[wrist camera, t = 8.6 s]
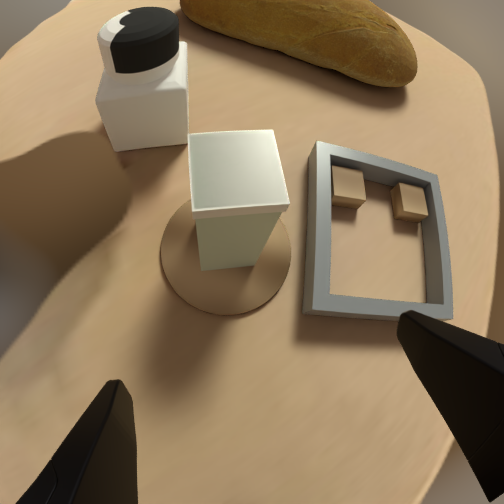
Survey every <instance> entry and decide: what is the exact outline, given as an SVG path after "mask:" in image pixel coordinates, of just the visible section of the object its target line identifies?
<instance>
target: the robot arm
mask: <svg viewBox="0 0 504 504" xmlns="http://www.w3.org/2000/svg"><path fill="white" fill-rule="evenodd" d="M397 337H398V340H399V342H400V344H401V346H402V347H403V349H404V351H405V353H406V355H407V357H408V359H409V361H410V363H411V365H412V367H413V369H414V371H415V373H416V374H417V376H418V378H419V379H420V381H421V383H422V384H423V386H424V387H425V389H426V390H427V392H428V394H429V395H430V397H431V399H432V400H433V402H434V403H435V405H436V407H437V408H438V410H439V412H440V413H441V415H442V417H443V418H444V420H445V422H446V423H447V425H448V427H449V428H450V430H451V432H452V434H453V435H454V437H455V439H456V440H457V442H458V444H459V446H460V448H461V449H462V451H463V453H464V455H465V457H466V459H467V460H468V463H469V464H470V466H471V468H472V470H473V472H474V474H475V476H476V478H477V479H478V481H479V483H480V485H481V487H482V489H483V491H484V493H485V495H486V497H487V499H488V501H489V502H492V501H493V500H495V499H496V498H497V497H499V496H500V495H502V494H503V493H504V344H501V343H497V342H495V341H493V340H490V339H488V338H485V337H482V336H480V335H477V334H475V333H472V332H469V331H467V330H464V329H461V328H459V327H456V326H453V325H451V324H448V323H446V322H443V321H440V320H438V319H435V318H432V317H430V316H427V315H424V314H422V313H419V312H416V311H414V310H408V311H406V312H403V313H401V315H400V317H399V322H398V327H397ZM16 504H138V491H137V443H136V433H135V423H134V412H133V401H132V397H131V395H130V394H129V392H128V390H127V389H126V387H125V385H124V384H123V382H122V381H121V380H119V379H117V380H109V381H107V382H106V384H105V385H104V386H103V388H102V389H101V390H100V392H99V393H98V394H97V396H96V397H95V398H94V400H93V401H92V402H91V404H90V405H89V406H88V408H87V409H86V411H85V412H84V413H83V415H82V416H81V417H80V419H79V420H78V421H77V423H76V424H75V426H74V427H73V428H72V430H71V431H70V432H69V434H68V435H67V437H66V438H65V439H64V441H63V442H62V444H61V445H60V446H59V448H58V449H57V451H56V452H55V453H54V455H53V456H52V458H51V460H49V462H48V463H47V465H46V466H45V468H44V469H43V470H42V472H41V473H40V474H39V476H38V477H37V479H36V480H35V481H34V482H33V483H32V485H31V486H30V487H29V488H28V490H27V491H26V492H25V493H24V494H23V495H22V497H21V498H20V499H19V500H18V501H17V502H16Z"/></svg>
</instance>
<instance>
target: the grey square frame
mask: <svg viewBox="0 0 504 504" xmlns="http://www.w3.org/2000/svg"><path fill="white" fill-rule="evenodd" d="M332 165H333V166H339V167H344V168H349V169H354V170H359V171H362V172H363V179H365V180H369V181H373V182H377V183H381V184H385V185H389V186H393V187H395V186H396V185H397V184H398V183H399V182H400V183H404V184H408V185H413V186H417V187H421V188H423V190H424V195H425V200H426V206H427V211H428V216H427V217H426V218H424V219H423V220H421V223H422V232H423V242H424V254H425V268H426V290H427V303H416V302H404V301H393V300H382V299H372V298H362V297H352V296H343V295H333V294H329V292H330V266H331V169H330V167H331V166H332ZM408 310H414V311H416V312H419V313H422V314H424V315H427V316H430V317H432V318H435V319H438V320H440V321H446V320H451V319H453V292H452V275H451V262H450V252H449V243H448V235H447V227H446V220H445V214H444V208H443V202H442V196H441V191H440V186H439V181H438V177H437V175H435V174H432V173H429V172H427V171H424V170H421V169H418V168H415V167H412V166H409V165H405V164H402V163H399V162H396V161H392V160H389V159H386V158H382V157H379V156H375V155H372V154H368V153H365V152H361V151H357V150H353V149H349V148H345V147H341V146H337V145H333V144H329V143H325V142H320V141H316V143H315V145H314V147H313V149H312V151H311V153H310V155H309V174H308V214H307V240H306V260H305V278H304V293H303V308H302V314H311V315H322V316H334V317H346V318H359V319H374V320H390V321H399V317H400V315H401V313H403V312H406V311H408Z"/></svg>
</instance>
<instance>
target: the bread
mask: <svg viewBox="0 0 504 504" xmlns="http://www.w3.org/2000/svg"><path fill="white" fill-rule="evenodd" d="M180 6H181V8H182V11H183V12H184V13H185V15H186V16H187V17H188V18H189V19H191V20H192V21H193V22H195V23H197V24H199V25H201V26H203V27H205V28H208V29H210V30H213V31H215V32H219V33H222V34H224V35H227V36H230V37H233V38H237V39H241V40H244V41H246V42H248V43H251V44H254V45H257V46H261V47H265V48H267V49H273V50H279V51H281V52H283V53H285V54H287V55H289V56H292V57H295V58H298V59H301V60H303V61H306V62H308V63H311V64H314V65H317V66H320V67H324V68H329V69H335V70H337V71H339V72H341V73H343V74H345V75H347V76H350V77H352V78H354V79H357V80H359V81H362V82H364V83H368V84H372V85H376V86H382V87H401V86H405V85H407V84H408V83H410V82H411V81H412V80H413V79H414V77H415V76H416V73H417V58H416V53H415V51H414V48H413V46H412V44H411V42H410V40H409V39H408V37H407V35H406V34H405V33H404V31H403V30H402V29H401V28H400V26H399V25H398V24H397V23H396V22H395V21H394V20H393V19H392V18H391V17H390V16H389V15H388V14H387V13H385V12H384V11H383V10H382V9H380V8H379V7H377V6H376V5H375V4H373V3H372V2H370V1H369V0H180Z"/></svg>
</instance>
